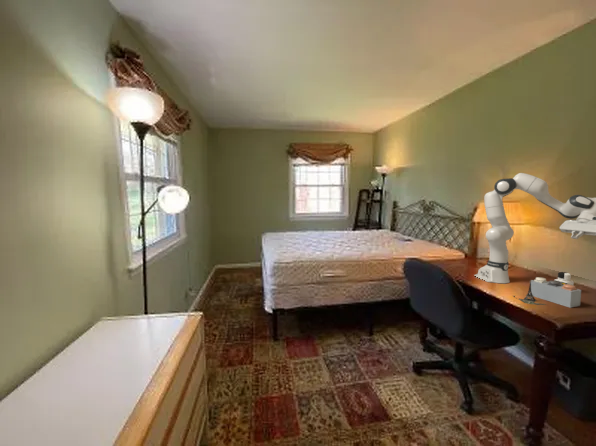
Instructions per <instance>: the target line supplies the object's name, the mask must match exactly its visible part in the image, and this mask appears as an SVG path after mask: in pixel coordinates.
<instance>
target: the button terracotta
mask: <svg viewBox="0 0 596 446" xmlns="http://www.w3.org/2000/svg"><path fill="white" fill-rule="evenodd" d="M562 289H566V290H570V291H573V290H576V289H577V288H576V286H575V285H569V284H564V286H563V287H562Z"/></svg>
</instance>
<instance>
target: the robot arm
mask: <svg viewBox="0 0 596 446" xmlns="http://www.w3.org/2000/svg"><path fill="white" fill-rule="evenodd" d="M548 184H549V183H548V182H547V181H546V180H544V179H542V178H540V177H537V176H535V175H532V174H529V173H526V172H525V173H524V172H519V173H516V175H514V177H513V178H502V179H499V180H497V181H496V182H495V183H494V186H493V190H491V191H488V192H486V193H485V194H484V196H483V198H484V199H483V200H484V201H483V204H484V209H485V210H484V211H485V215H486V219H487V221H489V223H490V225H491V227H490V228H489V229H488V230H486V232H485V239H486V240H487V242H488V247H489V256H488V257H489V259H488V260H486V264H485V265H484V266H482V267H480V268H478V272H477V273H476V274H473V275H474V276H476V277H475V278H477V277H478V278H477V279H479V278H480V280H482V279H483V280H482V281H484V280H485V282H487V283H494V284H508V283H510V276H509V265H510V264H509V263H510V262H509V249H508V247H507V241H509V240H510V239H512V237H513V236H514V235H515V234H514V229H513V227H511V225H510V223H509V220H508V218H507V216H506V210H505V207H504V201H503V198H504V197H506V196H509V195H511V194H512V193H513V192H514V191H515V190H520V191H523V192H525V193H527V194H530V195H531V196H533V198H535V199H536V200H537V201H539V202H540V203H541V204H543V205H545V206H547V207H548V208H551V209H553V210H554V211H556V212H557V213H558V214H560V215H561V216H562V217H563V218H566V219H567V220H565V221H564V222H563V223H561V225H560V226H559V230H560V231H561V233H566V234H567V233H568V234H571V236H570V238H571V239H576V240H579V238H581V237H583V236H584V235H588V236H596V197H587V196H585V195H582V194H574V195H571V196H570V197H569V198H568V199H567V201H566V202H562V201H561V200H559V199H557V198H555V197H554V196H552V195H551V194H550V191H549V185H548ZM474 276H473V277H474Z"/></svg>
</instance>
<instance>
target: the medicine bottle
mask: <svg viewBox="0 0 596 446" xmlns="http://www.w3.org/2000/svg"><path fill="white" fill-rule="evenodd" d="M571 277H572V275H571V273H568V272H567V271H560V272H558V273H557V278H556V279H554V280H553V281H558V282H560V284H561V285H564V284H569V285H574V284H575V283H574V280H572V279H571ZM574 286H575V285H574Z"/></svg>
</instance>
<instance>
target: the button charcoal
mask: <svg viewBox="0 0 596 446" xmlns="http://www.w3.org/2000/svg"><path fill="white" fill-rule="evenodd" d="M548 282H549V283H548V284H547V285H551V286H555V287H558V286H561V284H560V282H558V281H554V280H548Z"/></svg>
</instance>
